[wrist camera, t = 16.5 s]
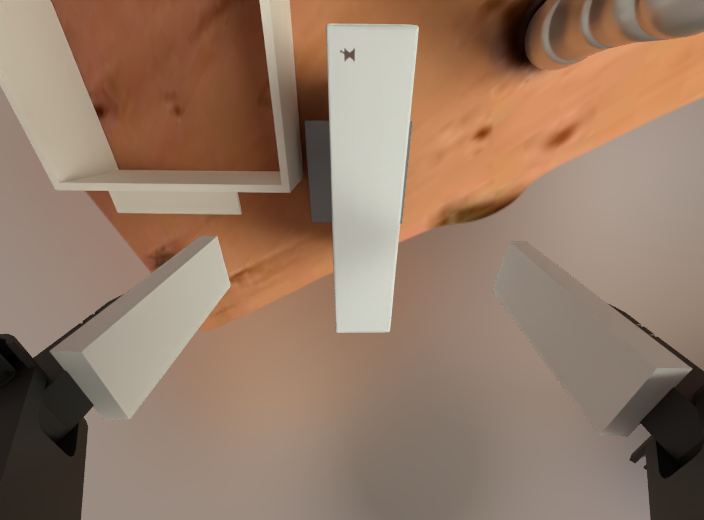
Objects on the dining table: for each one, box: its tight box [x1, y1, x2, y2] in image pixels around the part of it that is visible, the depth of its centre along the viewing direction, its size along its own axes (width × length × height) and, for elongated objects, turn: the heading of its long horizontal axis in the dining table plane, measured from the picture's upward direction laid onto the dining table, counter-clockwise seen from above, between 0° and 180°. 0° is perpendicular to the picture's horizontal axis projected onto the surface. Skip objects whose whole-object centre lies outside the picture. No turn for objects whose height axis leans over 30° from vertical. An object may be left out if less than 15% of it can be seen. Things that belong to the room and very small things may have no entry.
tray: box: [0, 0, 304, 215], centre depth 26 cm, size 31×26×8 cm
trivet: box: [305, 121, 412, 224], centre depth 33 cm, size 12×12×3 cm
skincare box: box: [326, 24, 419, 333], centre depth 25 cm, size 21×6×16 cm, turn 0°
